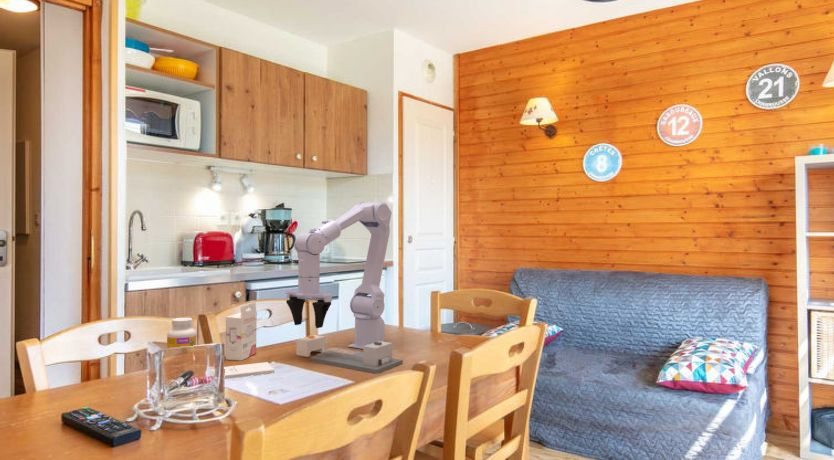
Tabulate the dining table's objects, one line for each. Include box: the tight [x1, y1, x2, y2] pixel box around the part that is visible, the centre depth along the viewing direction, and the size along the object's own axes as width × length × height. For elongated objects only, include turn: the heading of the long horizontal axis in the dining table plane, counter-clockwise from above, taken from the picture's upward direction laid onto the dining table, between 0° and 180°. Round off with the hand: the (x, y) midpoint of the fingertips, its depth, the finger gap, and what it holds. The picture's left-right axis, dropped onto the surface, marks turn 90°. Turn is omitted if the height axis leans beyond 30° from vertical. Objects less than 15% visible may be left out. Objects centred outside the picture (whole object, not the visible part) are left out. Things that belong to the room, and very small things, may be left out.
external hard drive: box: [223, 361, 275, 380], centre depth 135 cm, size 2×8×12 cm
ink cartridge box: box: [225, 302, 258, 361], centre depth 150 cm, size 9×5×15 cm, turn 168°
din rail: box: [324, 347, 389, 365], centre depth 146 cm, size 4×19×2 cm, turn 59°
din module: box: [296, 334, 326, 358], centre depth 156 cm, size 8×4×5 cm, turn 149°
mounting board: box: [309, 352, 404, 375], centre depth 146 cm, size 12×22×1 cm, turn 59°
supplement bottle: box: [166, 317, 197, 348], centre depth 136 cm, size 7×7×13 cm
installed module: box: [362, 341, 393, 367], centre depth 143 cm, size 8×4×5 cm, turn 149°
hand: (308, 326), depth 149 cm, fingers open, 7 cm apart
